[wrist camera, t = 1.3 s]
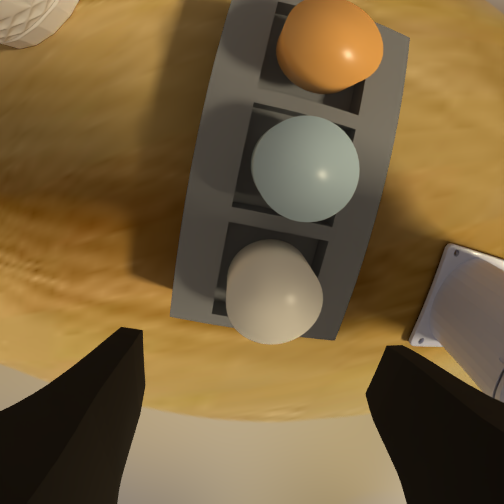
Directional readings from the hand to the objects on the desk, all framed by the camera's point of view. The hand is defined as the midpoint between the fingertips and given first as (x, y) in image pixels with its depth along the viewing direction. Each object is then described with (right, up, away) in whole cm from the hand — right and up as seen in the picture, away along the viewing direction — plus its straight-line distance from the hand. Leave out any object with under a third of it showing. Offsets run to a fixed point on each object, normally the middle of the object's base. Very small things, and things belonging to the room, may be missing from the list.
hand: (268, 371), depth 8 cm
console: (+1, +8, +8) cm, 11 cm away
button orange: (+3, +12, +3) cm, 13 cm away
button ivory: (0, +2, +7) cm, 7 cm away
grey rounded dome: (+2, +7, +5) cm, 9 cm away
